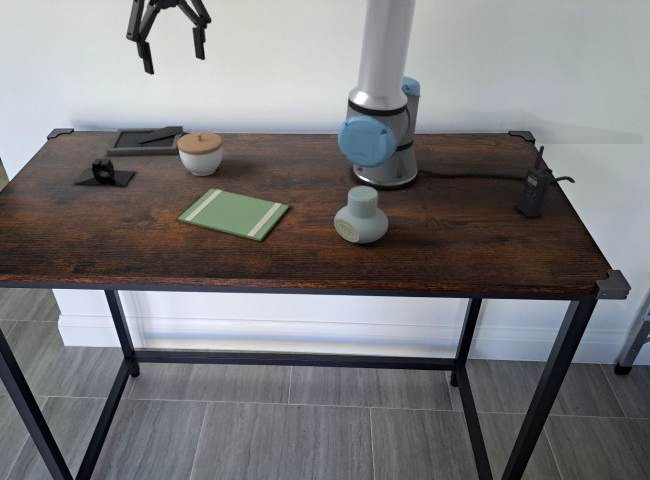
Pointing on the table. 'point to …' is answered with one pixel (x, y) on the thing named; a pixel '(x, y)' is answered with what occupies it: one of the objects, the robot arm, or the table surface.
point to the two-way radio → (535, 188)
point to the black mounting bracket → (104, 175)
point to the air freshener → (361, 217)
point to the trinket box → (201, 152)
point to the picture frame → (145, 141)
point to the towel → (234, 214)
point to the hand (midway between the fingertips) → (175, 65)
